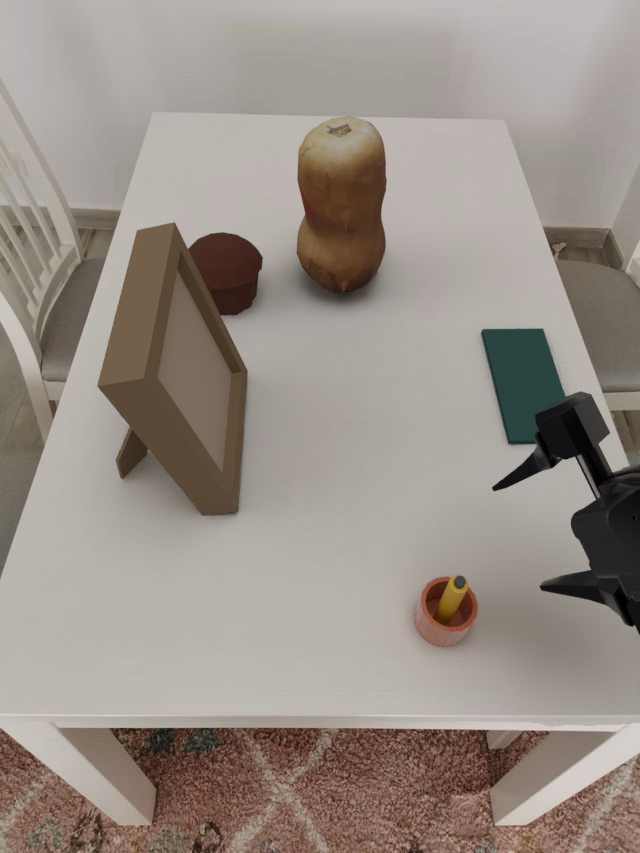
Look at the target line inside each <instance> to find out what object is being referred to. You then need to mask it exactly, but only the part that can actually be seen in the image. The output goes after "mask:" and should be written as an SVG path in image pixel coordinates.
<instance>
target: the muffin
mask: <svg viewBox="0 0 640 853" xmlns="http://www.w3.org/2000/svg"><path fill="white" fill-rule="evenodd" d="M187 248H188V250H189V252H190V254H191V256H192V258H193V260H194V262H195V264H196V266H197V268H198V270H199V273H200V275H201V277H202V279H203V281H204V283H205V285H206V287H207V289H208V291H209V293H210V295H211V297H212V299H213V301H214V303H215V305H216V307H217V309H218V311H219V313H220V315H221V317H222V316H237V315H239V314H240V313H242V312H244V311H246V310H247V309H249V308H252V305H253V302H254V300H255V298H256V297H257V294H258V293H257V292H258V284H259V274H260V272H261V271H262V269H263V262H264V256H263V255H262V254H261V252H260V250H259V249H258V247H257V246H255V245H254V244H253V243H252V242H251V241H249V240H248V239H246V238H244V237H242V236H240V235H238V234H237V233H230V232H223V231H221V232H212V233H209V234H206V235H203V236H201V237H199V238H197V239H196V240H195V241H194V242H193V243H192V244H191V245H190V246H189V247H187Z"/></svg>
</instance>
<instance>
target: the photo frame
mask: <svg viewBox="0 0 640 853" xmlns="http://www.w3.org/2000/svg"><path fill="white" fill-rule="evenodd" d="M188 248H189V247H188V246H187V244H186V241H185V240H184V238H183V235H182V234H181V231H180V230H179V227H178V225H177V223H176V222H175V221H174V222H173V221H172V222H169V223H165V224H159V225H154V226H150V227H146V228H140V229H136V233H135V237H134V240H133V244H132V248H131V252H130V256H129V260H128V264H127V268H126V272H125V276H124V279H123V284H122V287H121V291H120V295H119V299H118V303H117V307H116V310H115V314H114V318H113V322H112V327H111V329H110V330H111V331H110V334H109V338H108V342H107V345H106V346H107V347H106V351H105V354H104V357H103V362H102V365H101V369H100V374H99V378H98V382H97V385H96V386H97V388H98V389H99V390H100V391H101V393H102V394H103V395H104V396H105V398H106V399H107V400H108V401H109V403H110V404H111V405H112V407H113V408H114V409H115V410H116V411H117V413H119V415H120V416H121V417H122V419H123V420H124V421H125V422H126V423H127V424H128V426H129V427H128V430H127V432H126V434H125V437H124V439H123V442H122V444H121V447H120V449H119V451H118V453H117V456H116V458H115V463H116V467H117V471H118V474H119V478H120V479H122V480H124V479H125V478H126V477H127V476H128V475H129V474H130V472H131V471H133V470H134V468H136V467H137V465H138V464H140V462H141V461H142V460H143V459H144V458H146V456H147V455H148V452H150V453H151V454H152V456H153V457H154V459H156V460H157V461H158V463H159V465H160V466H162V467H163V469H164V470H165V471H166V473H167V474H168V475H169V476H170V478H171V479H172V480H173V481H174V482H175V483H176V485H177V486H178V488H180V490H181V491H182V492H183V493H184V495H185V496H186V497H187V499H188V500H189V501H190V502H191V503H192V505H193V506H194V507H195V508H196V510H197V511H198V512H199V513H200V514H201V515H202V517H203V516H213V515H219V514H220V515H221V514H226V513H228V514H229V513H236V512H238V511H239V501H240V500H239V499H240V486H241V470H242V456H243V445H244V442H243V441H244V431H245V430H244V428H245V414H246V402H247V401H246V399H247V388H248V387H247V386H248V385H247V384H248V372H249V370H248V369H247V366H246V365H245V362H244V360H243V359H242V357H241V354H240V353H239V350H238V349H237V345H236V344H235V342H234V340H233V338H232V336H231V334H230V332H229V330H228V327H227V325H226V324H225V321H224V320H223V317H222V316H221V315H220V313H219V311H218V309H217V307H216V305H215V303H214V301H213V299H212V297H211V295H210V293H209V291H208V289H207V287H206V285H205V283H204V281H203V279H202V277H201V275H200V273H199V270H198V268H197V266H196V264H195V262H194V260H193V258H192V256H191V254H190V252H189V250H188Z"/></svg>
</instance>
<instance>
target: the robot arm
mask: <svg viewBox="0 0 640 853" xmlns="http://www.w3.org/2000/svg"><path fill="white" fill-rule="evenodd" d="M535 419H536V425H537V427H538V429H539V430H538V431H536V432H535V433H534V440H535V442H536V444H535V445H536V447H535V449H534V450H533V451H532V452H531V454H530V455H529V456H528V457H526V459H525V460H524V461H523V462H521V464H520V465H519V466H517V467H516V468H515V469H513V470H512V471H511V472H510V473H508V474H507V475H505V477H503V478H502V479H500V480H499V481H498V482H496V483H495V484H494V485H493V486H491V490H492V491H493V492H498V491H501V490H505V489H507V488H510V487H512V486H514V485H517V484H518V483H520V482H522V481H525V480H527V479H528V478H531V477H533V476H535V475H537V474H539V473H541V472H545V471H549V470H552V469H554V468H555V467H556V466H558V465H559V464H560V463H561V462H562V461H567V460H569V459H573V458H575V459H576V461H577V464H578V466H579V469H580V470H581V472H582V474H583V476H584V478H585V481H586V482H587V484H588V487H589V488H590V490H591V492H592V494H593V496H594V499H595V500H593V501H592V502H590V503H589V504H587V505H586V506H584V507H583V508H580V509H578V510H577V511H575V512H574V513H573V514H572V516H571V518H570V528H571V532H572V534H573V535H574V538H576V539H577V540H578V541H579V543H580V545H581V548H582V549H583V551H584V553H585V556H586V557H587V559H588V566H589V568H590V569H588V570H587V569H586V570H583V571H577V572H572V573H568V574H562V575H558V576H556V577H552V578H549V579H547V580H543V581H542V582H541V583H540V584H539V586H538V587H539V589H540V591H541V592H545V593H550V594H557V595H561V596H566V597H572V598H577V599H582V600H587V601H591V602H594V603H597V604H601V605H604V606H606V607H608V608H609V609H611V610H612V611H613V612H614V613H616V615H618V616H619V617H620V618H621V620H622V623H623V624H624V625H625V626H627V627H629V628H634V627H635V629H636V630H637V633H638V635H639V636H640V463H639V464H636V463H635V464H631V465H629V466H625V467H622V468H621V469H618V470H616V471H613V470H612V469H611V466H610V464H609V462H608V460H607V458H606V456H605V454H604V452H603V450H602V447H601V446H600V443H601V442H602V441H604V439H605V438H606V437H608V436H609V435H610V434H611V430H610V428H609V427H608V425H607V423H606V421H605V419H604V417H603V415H602V412H601V411H600V409H599V407H598V405H597V403H596V401H595V399H594V397H593V395H592V394H591V393H589V392H585V391H582V390H581V391H576V392H574V393H572V394H569V395H565V397H564V398H562V399H559V400H557V401H556V402H554V403H552V404H551V405H549V406H548V407H546V408H545V409H543V410H541V411H540V412H538V413H537V414H535Z"/></svg>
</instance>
